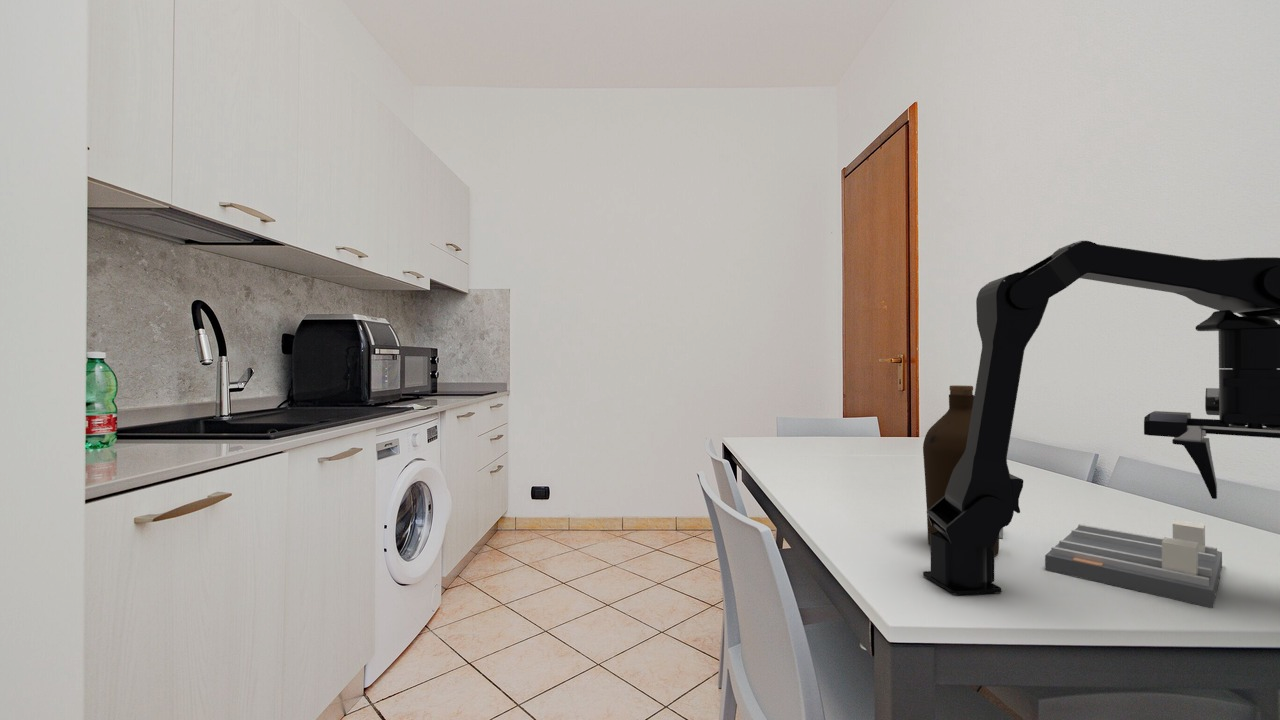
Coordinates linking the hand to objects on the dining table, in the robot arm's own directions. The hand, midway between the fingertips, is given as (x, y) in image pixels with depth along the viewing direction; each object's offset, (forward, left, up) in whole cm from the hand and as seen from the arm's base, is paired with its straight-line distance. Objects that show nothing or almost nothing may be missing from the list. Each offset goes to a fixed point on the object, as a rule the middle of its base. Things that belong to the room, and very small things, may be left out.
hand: (1256, 503), depth 64 cm
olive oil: (-20, +23, -12) cm, 33 cm away
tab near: (-4, +5, -10) cm, 12 cm away
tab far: (+6, +12, -10) cm, 17 cm away
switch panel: (-2, +13, -12) cm, 18 cm away
